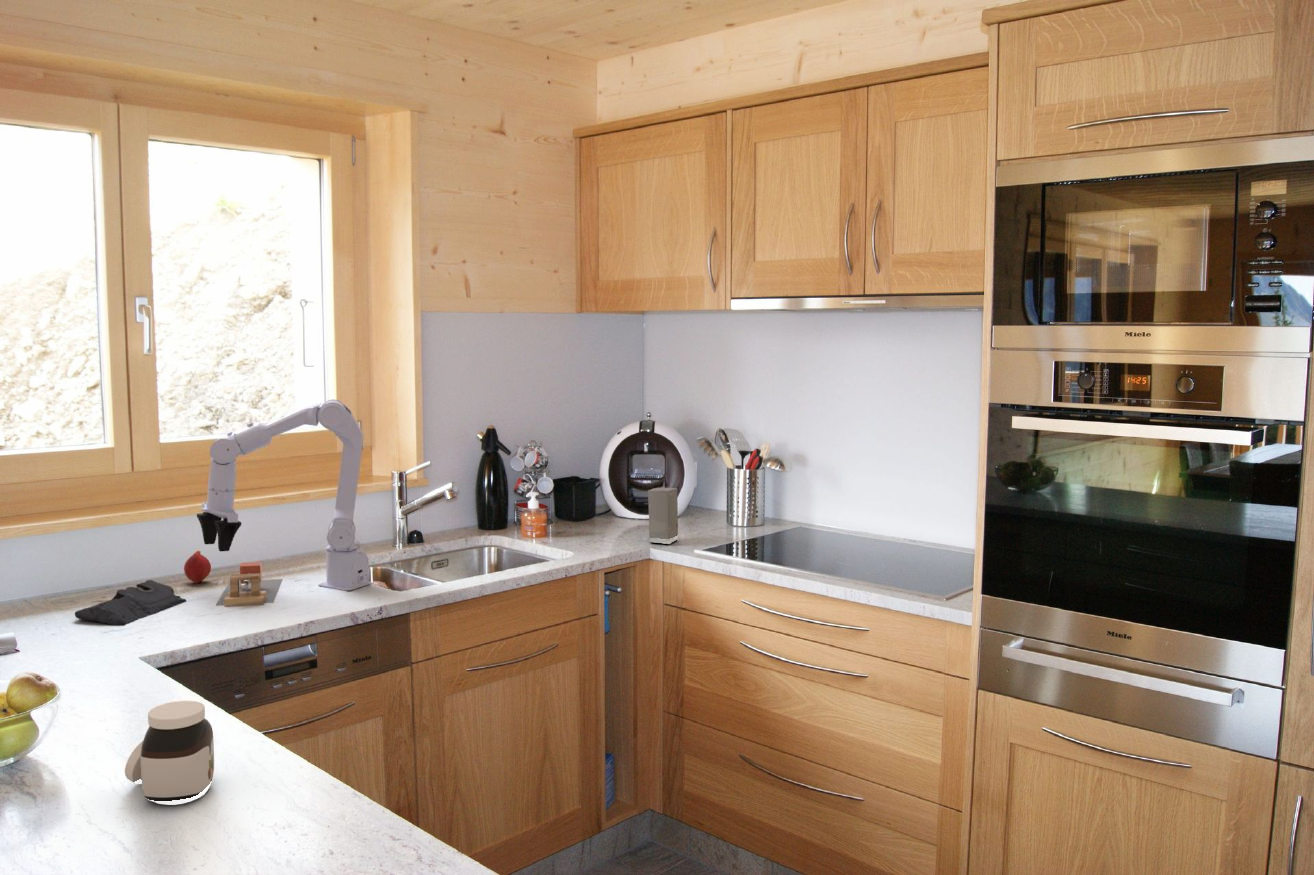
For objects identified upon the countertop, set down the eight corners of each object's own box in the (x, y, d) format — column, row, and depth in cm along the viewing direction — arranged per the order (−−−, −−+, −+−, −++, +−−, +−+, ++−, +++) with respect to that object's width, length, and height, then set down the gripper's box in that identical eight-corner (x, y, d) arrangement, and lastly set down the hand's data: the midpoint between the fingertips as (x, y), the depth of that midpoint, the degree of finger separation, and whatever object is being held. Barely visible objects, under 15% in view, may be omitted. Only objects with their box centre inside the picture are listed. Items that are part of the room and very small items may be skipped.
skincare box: (669, 546, 297) (670, 491, 296) (646, 543, 300) (646, 489, 298) (679, 540, 305) (680, 487, 304) (656, 538, 308) (657, 485, 306)
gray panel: (273, 603, 232) (273, 602, 232) (215, 606, 229) (215, 605, 229) (282, 579, 253) (282, 578, 253) (229, 582, 250) (229, 581, 250)
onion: (201, 587, 245) (199, 553, 244) (179, 585, 246) (178, 552, 245) (216, 581, 251) (215, 548, 250) (194, 579, 252) (193, 547, 251)
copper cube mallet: (253, 596, 229) (253, 578, 229) (232, 597, 228) (232, 579, 228) (262, 578, 245) (261, 562, 244) (242, 579, 244) (241, 562, 243)
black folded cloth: (61, 624, 216) (59, 601, 215) (134, 597, 237) (133, 577, 237) (125, 629, 213) (124, 606, 212) (194, 602, 234) (193, 581, 234)
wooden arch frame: (263, 604, 230) (262, 577, 230) (224, 606, 228) (223, 579, 228) (266, 597, 236) (265, 571, 235) (228, 599, 234) (227, 573, 233)
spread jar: (195, 811, 134) (192, 723, 133) (104, 813, 133) (100, 725, 132) (226, 771, 146) (224, 690, 145) (143, 773, 145) (139, 692, 144)
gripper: (190, 484, 241) (185, 541, 242) (218, 495, 231) (213, 555, 232) (220, 483, 246) (215, 540, 247) (248, 494, 236) (243, 553, 238)
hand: (216, 547), depth 240 cm, fingers open, 7 cm apart
